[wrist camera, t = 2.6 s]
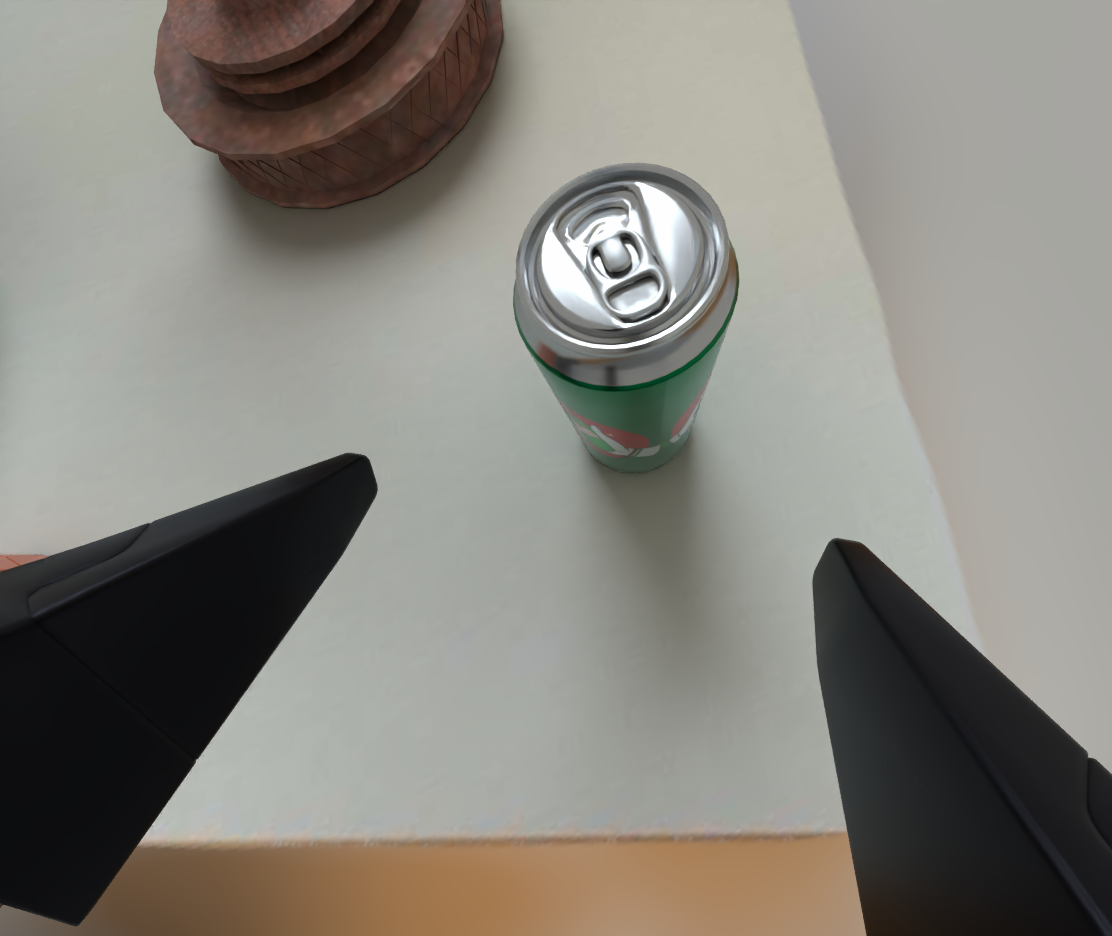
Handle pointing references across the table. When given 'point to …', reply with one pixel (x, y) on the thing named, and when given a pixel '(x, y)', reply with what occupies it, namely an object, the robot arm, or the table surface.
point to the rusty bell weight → (324, 88)
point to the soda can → (627, 306)
